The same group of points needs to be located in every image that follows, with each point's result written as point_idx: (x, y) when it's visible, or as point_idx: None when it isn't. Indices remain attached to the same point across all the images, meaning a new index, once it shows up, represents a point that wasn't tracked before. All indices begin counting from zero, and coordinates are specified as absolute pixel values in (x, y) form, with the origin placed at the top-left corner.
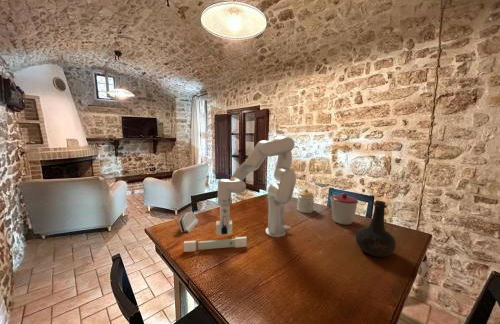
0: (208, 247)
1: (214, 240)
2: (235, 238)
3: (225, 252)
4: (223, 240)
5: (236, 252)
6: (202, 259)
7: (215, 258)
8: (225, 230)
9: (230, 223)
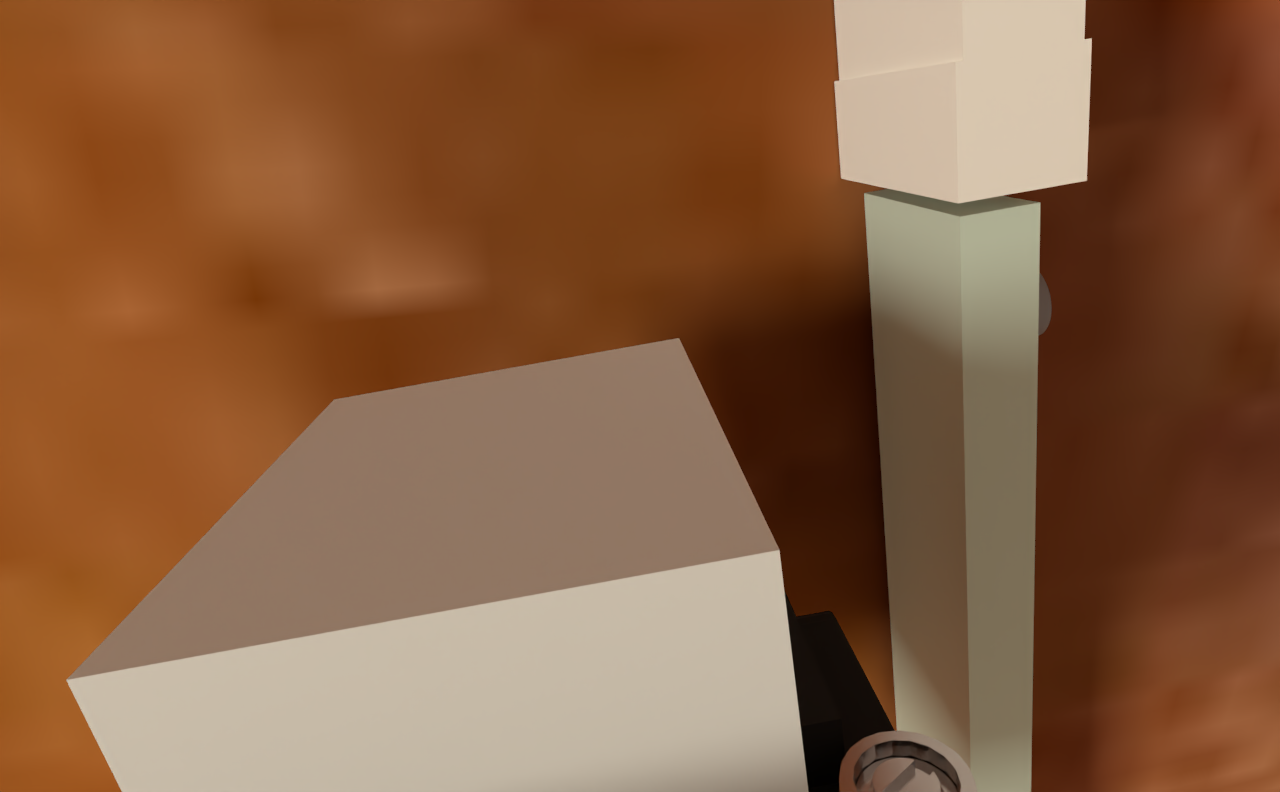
0: None
1: (979, 778)
2: (1049, 179)
3: (1095, 390)
4: (1019, 561)
5: (1150, 117)
6: (1224, 751)
7: (1256, 553)
8: (867, 689)
9: (648, 689)
